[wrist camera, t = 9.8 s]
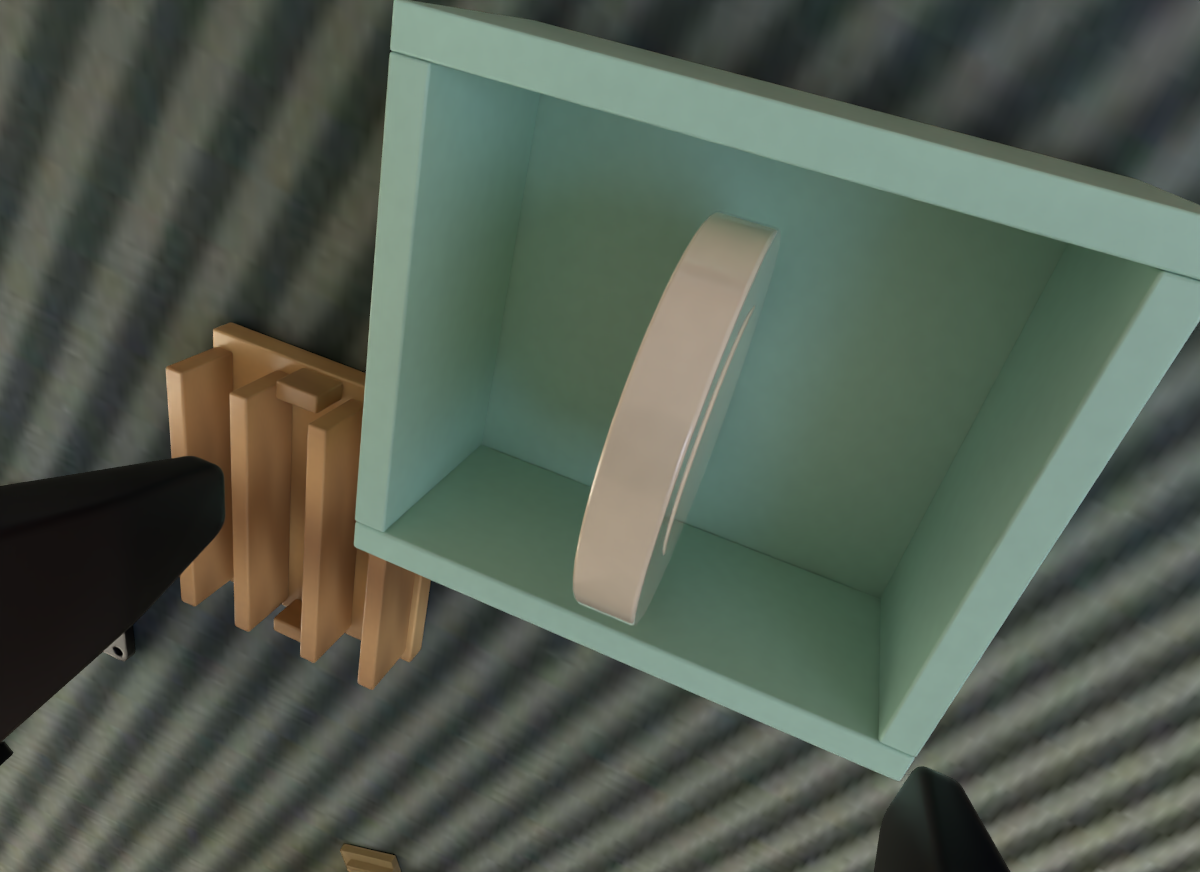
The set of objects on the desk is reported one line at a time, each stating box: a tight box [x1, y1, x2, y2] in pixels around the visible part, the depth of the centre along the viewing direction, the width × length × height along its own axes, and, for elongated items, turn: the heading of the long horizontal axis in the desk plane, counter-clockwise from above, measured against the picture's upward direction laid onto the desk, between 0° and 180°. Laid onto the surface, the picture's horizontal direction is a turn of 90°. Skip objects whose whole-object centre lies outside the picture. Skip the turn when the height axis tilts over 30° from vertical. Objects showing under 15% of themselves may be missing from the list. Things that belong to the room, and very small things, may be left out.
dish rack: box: [166, 323, 431, 690], centre depth 24 cm, size 10×8×3 cm
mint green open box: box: [354, 0, 1200, 781], centre depth 16 cm, size 12×13×6 cm
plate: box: [573, 211, 781, 625], centre depth 15 cm, size 8×1×8 cm, turn 166°
